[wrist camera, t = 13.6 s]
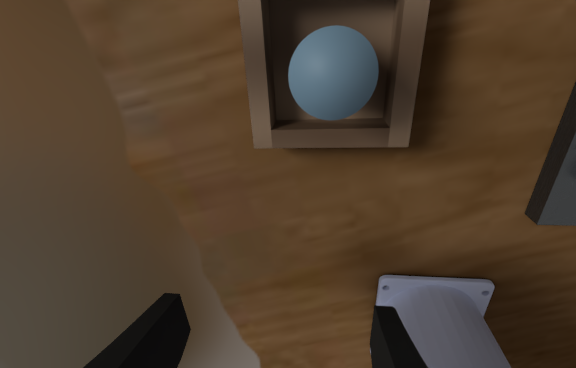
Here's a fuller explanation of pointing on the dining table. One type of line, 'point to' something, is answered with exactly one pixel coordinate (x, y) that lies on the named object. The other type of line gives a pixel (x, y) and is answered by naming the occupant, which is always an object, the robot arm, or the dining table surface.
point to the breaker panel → (558, 176)
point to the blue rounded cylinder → (333, 72)
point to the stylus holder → (285, 39)
